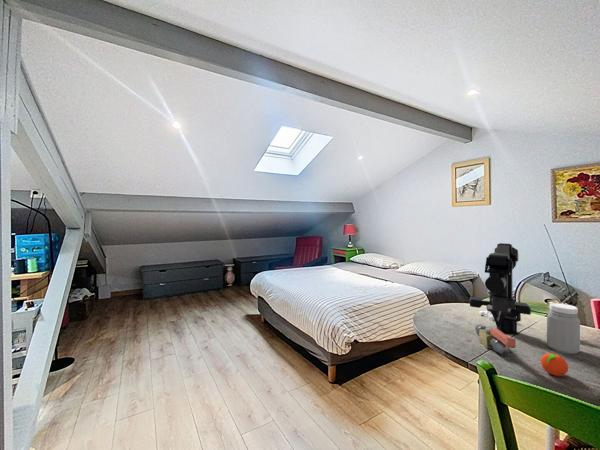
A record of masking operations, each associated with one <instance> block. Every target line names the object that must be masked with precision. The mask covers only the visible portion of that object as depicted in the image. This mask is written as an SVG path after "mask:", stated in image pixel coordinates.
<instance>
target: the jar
mask: <svg viewBox="0 0 600 450" xmlns="http://www.w3.org/2000/svg"><path fill="white" fill-rule="evenodd" d="M548 312H549V313H548V314H547V315H546V345H548V347H549V348H550V349H551V350H554V351H556V352H558V353H562V354H567V355H577V354H578V353H579V352H580V351H581V350H580V349H581V347H580V345H581V320H580V318H579V317H578V316H579V315H578V313H579V308H578V307H577V306H575V305H571V304H567V303H561V302H552V303H551V302H550V303H549V311H548Z"/></svg>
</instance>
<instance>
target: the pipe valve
mask: <svg viewBox="0 0 600 450" xmlns="http://www.w3.org/2000/svg"><path fill="white" fill-rule="evenodd" d="M486 327H487V326H484V325H481V324H478V325H476V326H475V327H474V328H475V329H474V331H475V334H476V335H477V336H478V342H479V341H480V342H481V343H482V344H483V345H484V346H485V347H486V348H485V347H484V346H483V345H482V344H481V343H480V342H479V343H480V344H481V345H482V346H483V347H484V348H485V349H487V348H489V350H494V351H495V352H496V353H497V354H500V355H502V356H508V355H509V354H510V353H511V348H509V347H507V346H506V345H505V344H504V343H502V342H501V341H500V340H498V339H497V338H496V337H494V336H493V335H492V334H490V333H487V332H486V331H485V328H486Z"/></svg>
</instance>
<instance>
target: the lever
mask: <svg viewBox="0 0 600 450" xmlns="http://www.w3.org/2000/svg"><path fill="white" fill-rule="evenodd" d="M485 327H486V328H485V331H486V332H487V333H490V334H492V335H493V336H494V337H496V338H497V339H498V340H500V341H501V342H502V343H504V344H505V345H506V346H507V347H509V348H510V349H516V338H514V337H510V336H508V335H507V334H506V333H503V332H501V331H500V330H499V329H497V327H496V328H494V327H489V326H488V327H487V326H485Z"/></svg>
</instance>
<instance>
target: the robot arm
mask: <svg viewBox="0 0 600 450" xmlns="http://www.w3.org/2000/svg"><path fill="white" fill-rule="evenodd" d="M517 262H519V250H518V249H516V248H515V247H513V245H512V244H511V243H503V242H502V243H500V242H499V243H497V244H496V247H495V248H494V252H492V253H489V254H488V256H486V258H485V265H484V266H485V267H484V273H486V274H487V273H488V274H489V276H488V277H487V278H486V279H485V281H484V285H485V286H484V287H485V288H486V289H487V290H488V295H489V296H488V300H482V297H478V296H470V297H469V307H471V308H479V309H480V308H481V307H482V306H483V307H484V306H486V311H490V312H491V313H492V315H493V317H494V320H493V321H494V322H495V325H496V329H498V330H499V331H501V332H502V333H504V334H506V335H507V334H510V335H519V334H520V332H518V329H517V328H518V322H521V321H522V320H521V319H522V315H521V314H523V315H529V316H531V314H532V312H531V311H532V310H531V306H530V305H529V304H528V303H526V302H520V301H519V302H518V301H516V299H515V298H513V297H514V296H513V295H514V294H513V293H514V292H513V289H514V288H513V270H514V268H516V265H517Z"/></svg>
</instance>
